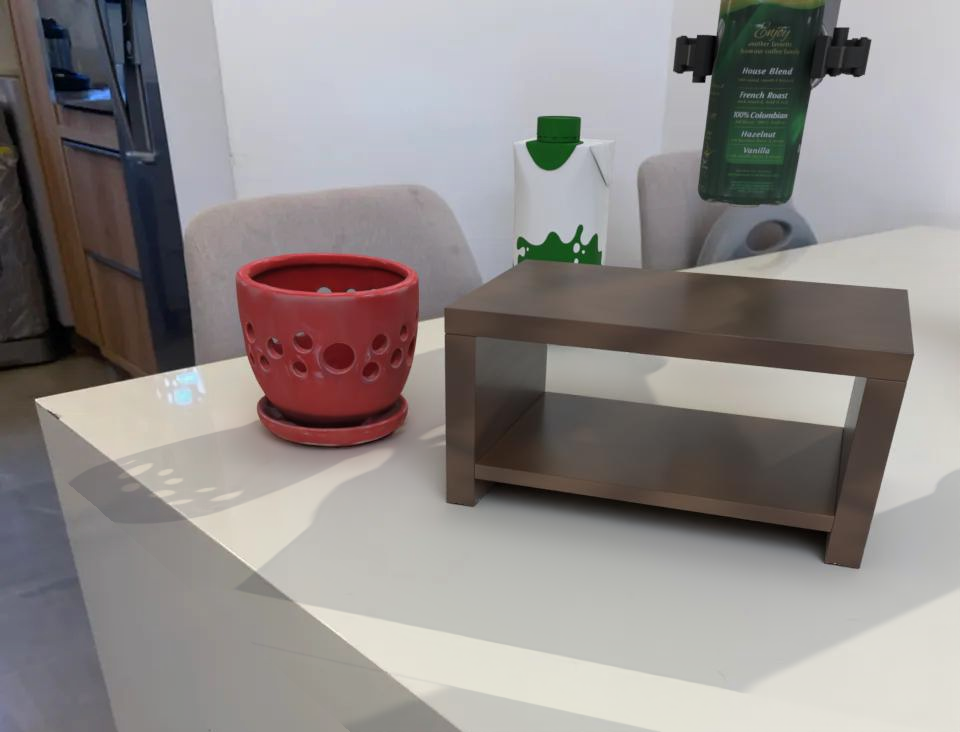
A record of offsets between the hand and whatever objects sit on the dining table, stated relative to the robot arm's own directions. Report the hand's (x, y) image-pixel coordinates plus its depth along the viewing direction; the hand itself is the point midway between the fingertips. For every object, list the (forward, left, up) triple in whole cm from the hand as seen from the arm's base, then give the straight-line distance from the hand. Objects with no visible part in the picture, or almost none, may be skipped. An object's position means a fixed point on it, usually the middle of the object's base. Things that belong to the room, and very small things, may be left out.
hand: (758, 56), depth 70 cm
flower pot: (+26, +22, -25) cm, 42 cm away
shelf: (0, +24, -25) cm, 34 cm away
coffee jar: (0, -5, -11) cm, 12 cm away
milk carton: (+18, -12, -25) cm, 33 cm away
